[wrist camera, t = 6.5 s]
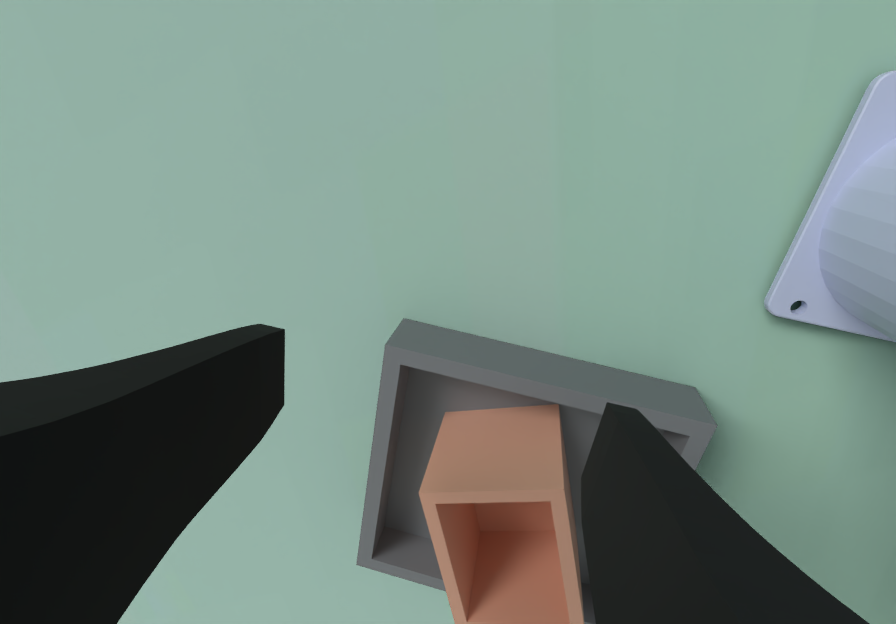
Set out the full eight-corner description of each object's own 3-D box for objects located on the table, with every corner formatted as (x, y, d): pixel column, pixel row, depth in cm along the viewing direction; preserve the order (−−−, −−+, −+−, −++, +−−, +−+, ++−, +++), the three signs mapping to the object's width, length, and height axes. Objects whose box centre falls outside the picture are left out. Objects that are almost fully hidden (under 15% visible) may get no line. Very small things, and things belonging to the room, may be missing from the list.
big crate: (695, 387, 19) (717, 425, 17) (603, 588, 24) (610, 639, 22) (403, 318, 20) (385, 344, 18) (373, 523, 25) (356, 564, 23)
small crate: (558, 404, 20) (564, 488, 15) (576, 530, 22) (585, 636, 17) (445, 412, 21) (418, 493, 16) (473, 530, 23) (457, 630, 19)
